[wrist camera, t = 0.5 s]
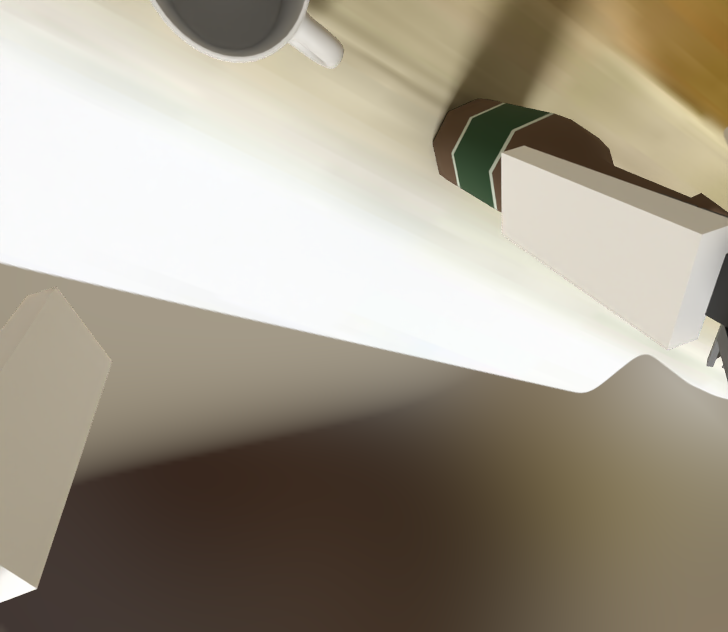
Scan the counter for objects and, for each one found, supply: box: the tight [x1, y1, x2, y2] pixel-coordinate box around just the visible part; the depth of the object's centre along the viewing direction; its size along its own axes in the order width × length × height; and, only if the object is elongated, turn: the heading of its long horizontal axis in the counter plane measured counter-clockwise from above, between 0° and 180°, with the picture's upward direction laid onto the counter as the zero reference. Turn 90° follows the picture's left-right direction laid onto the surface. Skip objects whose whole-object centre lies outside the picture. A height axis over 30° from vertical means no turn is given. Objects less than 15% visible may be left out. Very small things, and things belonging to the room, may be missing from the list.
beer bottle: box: [433, 99, 728, 216], centre depth 30 cm, size 8×8×24 cm
